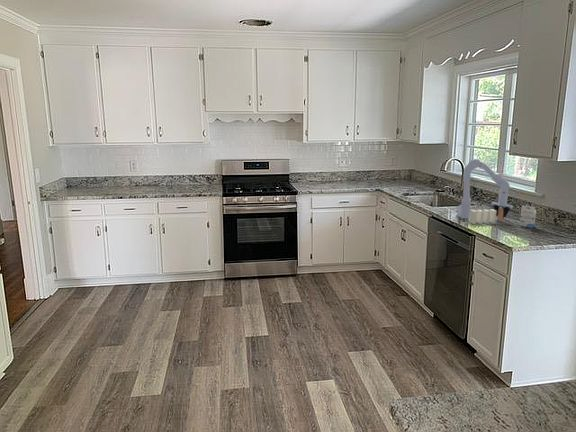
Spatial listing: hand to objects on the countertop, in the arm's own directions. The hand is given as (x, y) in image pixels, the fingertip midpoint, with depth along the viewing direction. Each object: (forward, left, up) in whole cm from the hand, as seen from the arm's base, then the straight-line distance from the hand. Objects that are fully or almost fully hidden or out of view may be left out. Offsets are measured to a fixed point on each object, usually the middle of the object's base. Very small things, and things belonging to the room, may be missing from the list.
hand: (500, 216), depth 306 cm
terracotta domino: (0, 0, -3) cm, 3 cm away
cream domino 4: (+5, -10, -3) cm, 12 cm away
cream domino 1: (+5, -25, -3) cm, 26 cm away
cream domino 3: (+5, -15, -3) cm, 16 cm away
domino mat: (+3, -12, -3) cm, 13 cm away
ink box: (+17, +8, -4) cm, 19 cm away
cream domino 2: (+5, -20, -3) cm, 21 cm away
